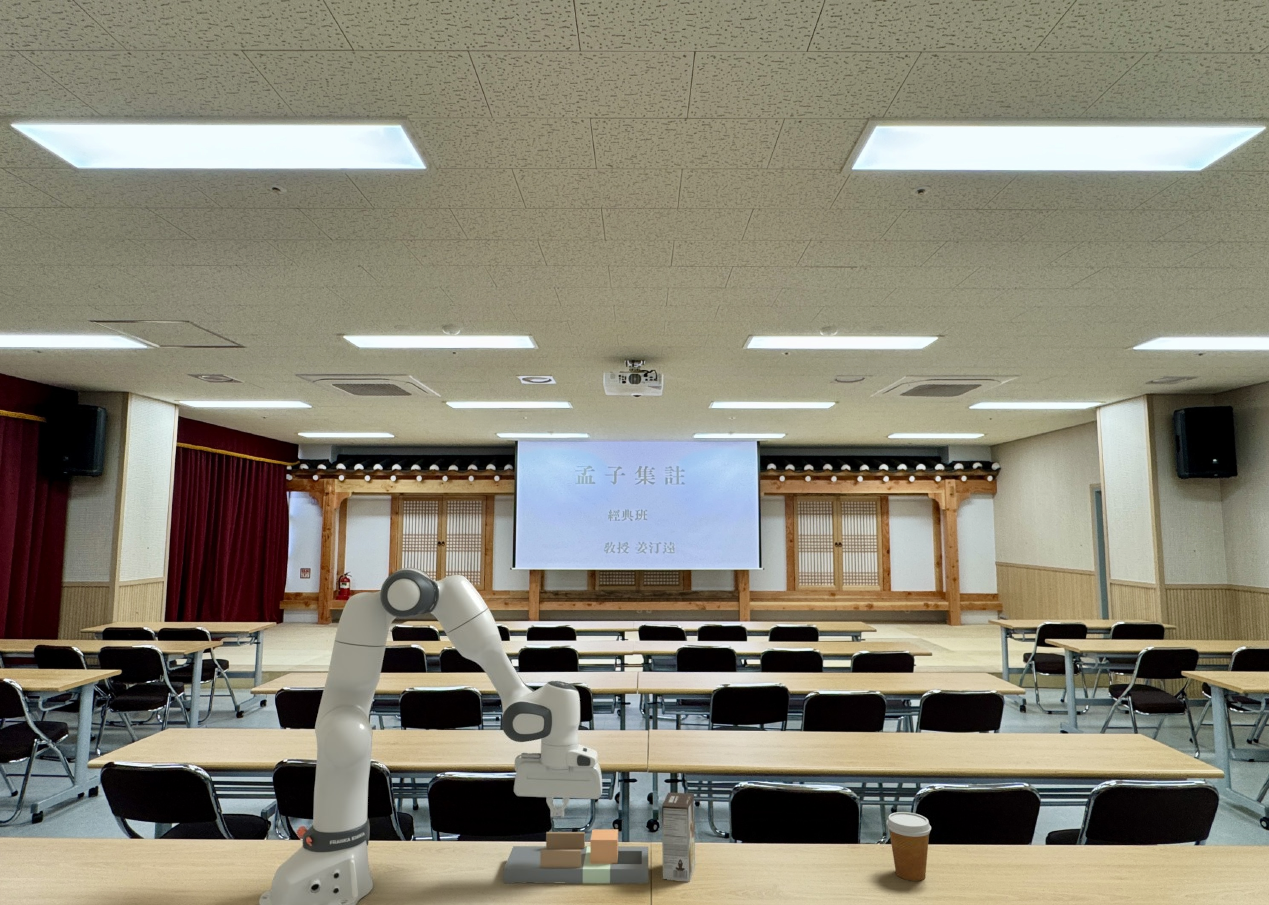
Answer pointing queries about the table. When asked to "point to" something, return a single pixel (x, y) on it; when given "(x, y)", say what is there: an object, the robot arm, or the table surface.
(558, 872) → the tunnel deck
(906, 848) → the disposable coffee cup
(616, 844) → the block
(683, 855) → the coffee box
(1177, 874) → the table surface
